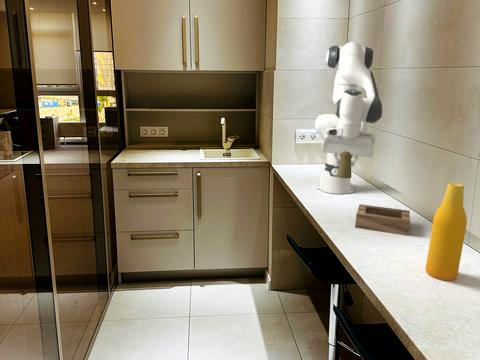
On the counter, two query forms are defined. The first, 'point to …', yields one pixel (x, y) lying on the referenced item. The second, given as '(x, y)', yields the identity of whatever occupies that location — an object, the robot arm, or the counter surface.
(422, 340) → the counter surface
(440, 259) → the beer bottle
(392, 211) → the well block
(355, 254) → the counter surface
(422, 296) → the counter surface
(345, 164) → the cork
